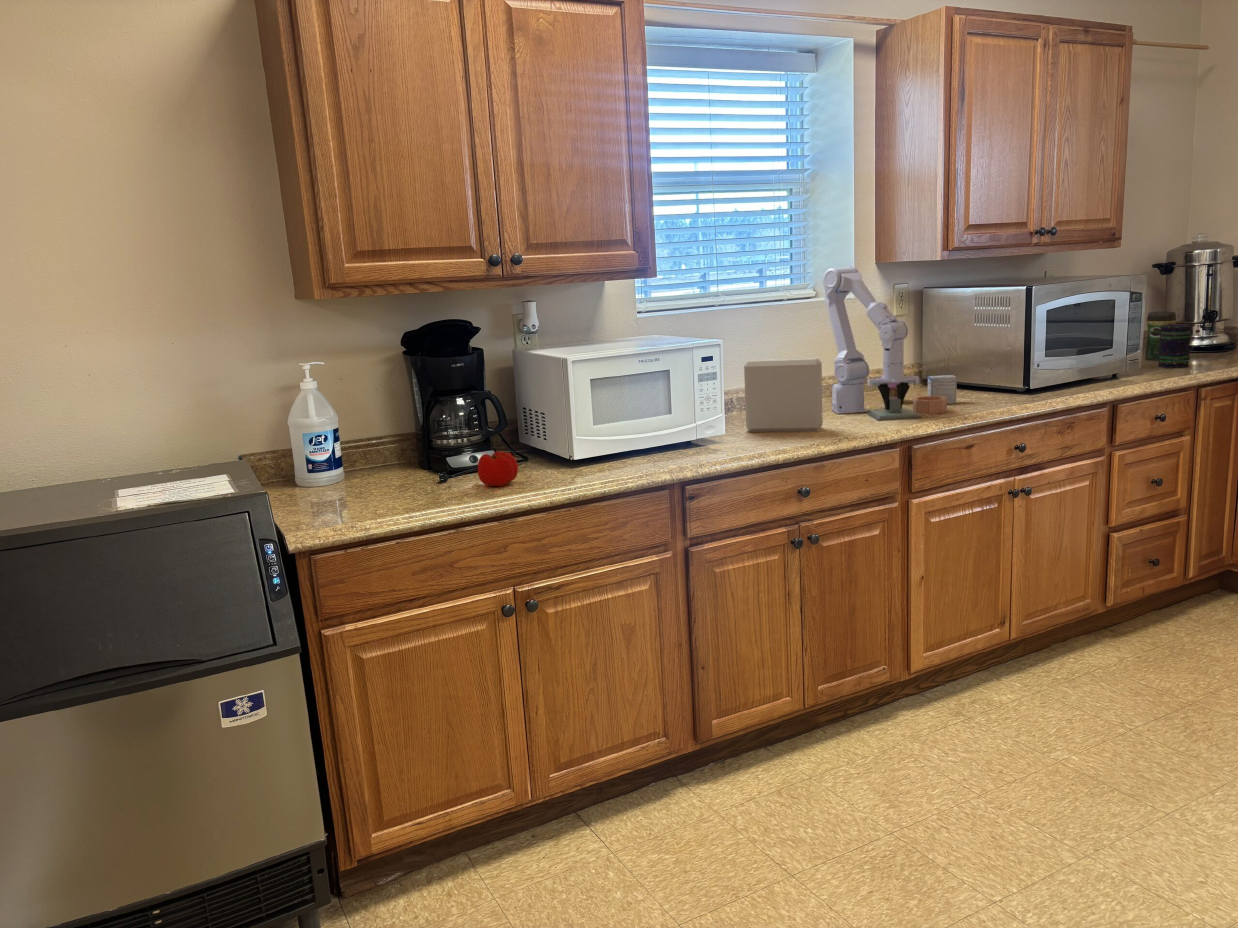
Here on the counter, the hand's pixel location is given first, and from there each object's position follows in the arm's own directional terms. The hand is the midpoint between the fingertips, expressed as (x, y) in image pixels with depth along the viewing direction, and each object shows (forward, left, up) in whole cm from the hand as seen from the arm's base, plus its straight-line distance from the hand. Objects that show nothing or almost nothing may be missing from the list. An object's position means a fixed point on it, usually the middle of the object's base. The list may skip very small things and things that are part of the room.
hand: (893, 409), depth 266 cm
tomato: (-109, -59, -2) cm, 124 cm away
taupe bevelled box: (-34, -11, -2) cm, 36 cm away
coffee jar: (+129, +90, -2) cm, 157 cm away
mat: (0, 0, -2) cm, 2 cm away
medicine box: (+20, +17, -2) cm, 26 cm away
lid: (0, 0, -2) cm, 2 cm away
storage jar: (+121, +67, -2) cm, 138 cm away
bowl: (+12, +4, -2) cm, 13 cm away
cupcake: (+7, +25, -2) cm, 26 cm away
